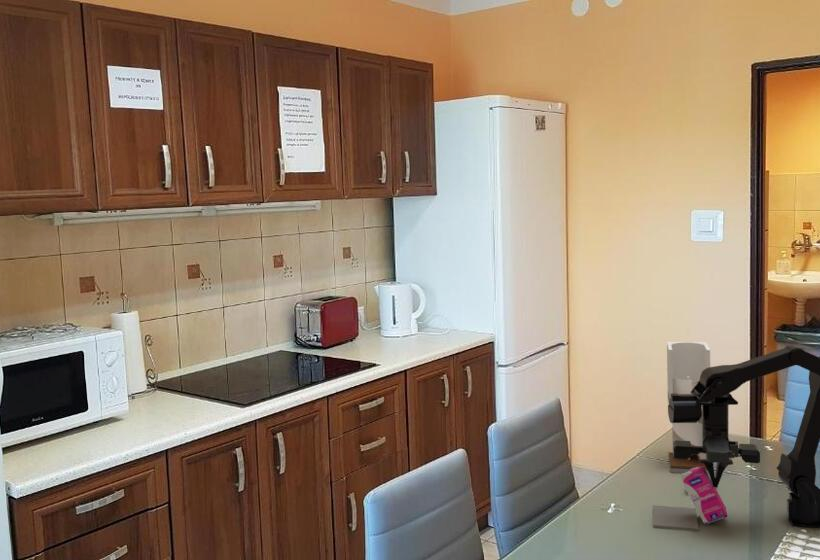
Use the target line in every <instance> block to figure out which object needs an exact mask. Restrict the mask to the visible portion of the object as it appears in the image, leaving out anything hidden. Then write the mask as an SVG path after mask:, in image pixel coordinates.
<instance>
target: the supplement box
mask: <svg viewBox="0 0 820 560" xmlns="http://www.w3.org/2000/svg"><path fill="white" fill-rule="evenodd" d="M709 475H710V474H709ZM709 475H708V473H707V471H706V469H705V467H704V466H702V467H699V468H696V469H694V470H691V471H688V472H686V473H681V481H682V484H683V486H684V488H685V490H686V492H687V493H688V496H689V497H690V500H691V502H692V504H693V505H694V508H696V512H697V513H698V515H699V517H700V519H701V521H702V522H703V524H704V526H705V525H710V524H711V523H714V522H717V521H719V520H722V519H726V518H728V511H727V507H726V505H725V503H724V501H723V499H722V497H721V495H720V494H719V492H718V490H717V487H713V483H712V480H711V478H710V477H709Z"/></svg>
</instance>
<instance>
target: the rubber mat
mask: <svg viewBox="0 0 820 560" xmlns="http://www.w3.org/2000/svg"><path fill="white" fill-rule="evenodd" d="M652 528H653V529H654V528H655V529H668V530H682V531H692V532H693V531H694V532H699V523H698V516H697V509H696V507H682V506H681V507H680V506H671V505H670V506H668V505H667V506H665V505H652Z"/></svg>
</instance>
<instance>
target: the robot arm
mask: <svg viewBox="0 0 820 560" xmlns="http://www.w3.org/2000/svg"><path fill="white" fill-rule="evenodd" d="M794 366H798V367H801V368H802V369H805V370H807V371H809V372H808V383H809V395H808V399H807V403H806V405H805V409H804V412H803V416H802V417H801V418H802V419H801V422H800V426H799V429H798V431H797V432H798V433H797V435H796V439H795V443H794V445H793V448H792V449H791V451H790V452H789V453H788V454H785V453H781V455H780V461H779V464H778V466H776V469H777V471H778V473H777V474H778V477H779V479H780V481H781V482H782V484H784V485H785V486H786V488H787V490H789V491H790V492H789V493H788V498H787V499H786V516H787V519H788V520H789V521H790V524H791V526H795V527H808V528H809V527H810V528H820V487H819V486H817V485H816V479H817V478H816V477H817V468H816V459H815V458H816V454H817V451H818V447H819V444H820V356H817V355H815V354H812V353H810V352H808V351H806V350H804V349H803V348H800V347H798V346H797V345H795V344H794V345H793V344H790V345H786V346H785V347H783V348H781V349H778V350H775V351H772V352H769V353H766V354H763V355H759V356H757V357H754V358H752V359H748V360H745V361H742V362H739V363H736V364H721V365H715V366H710V367H709V368H706V369H705V370H703V371H702V373H701V375H700V380H699V382H698V383H697V384H696V385H695V387H694V388H693V389H692V391H691V394H671V399H670V400H669V404H668V405H667V413H668V414H667V416H668V419H669V422H670V424H672V423H696V422H697V421H700V418H701V416H702V446H691V443H690V441H678V440H675V441H674V442H672V452H673V455H674V458H676V459H689V458H690V457H691V454H698V457H699V462H700V463H704V464H705V466H706V468H707V470H708V472H709V475H710V477H711V480H712V483H713V487H715V488H718V486H719V484H720V482H721V479H722V476H723V474H724V471H725V470H726V468H727V467H729V466H731V465H733V464H734V461H733V459H735V458H739V457H740V458H741V460H743V462H744V463H745V464H746V463H748V464H760V463H761V452H760V450H759V447H758V446H757V445H756V444H753V443H752V444H751V443H750V444H749V443H739V442H738V441H733V440H730V438H729V425H730V424H729V406H731V405H733V406H734V405H736V406H737V405H738V404H739V402H738V400H736V399H735V398H734V397H733V395H732V394H731V393H733V392H734V391H736V390H738V389H739V388H740V387H741V386H742V385H744V384H745V383H747V382H750V381H752V380H756V379H759V378H762V377H764V376H768V375H770V374H773V373H776V372H780V371H782V370H785V369H788V368H791V367H794ZM701 405H702V408H701ZM714 463H716V467H715V468H714Z"/></svg>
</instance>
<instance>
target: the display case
mask: <svg viewBox="0 0 820 560" xmlns="http://www.w3.org/2000/svg"><path fill="white" fill-rule="evenodd" d="M666 366H667V368H666V371H667V372H666V375H667V379H666V380H667V381H666V382H667V404H668V405H669V400H670V399H671V394H691V391H692V389H693V388H694V387H695V385H696V384H697V383H698V382H699V380H700V375H701V373H702V371H703V370H705V369H706V368H709V367H711V348H709V345H708V343H707V342H706V341H667V342H666ZM701 408H702V405H701ZM671 425H672V426H671V427H672V428H671V431H672V434H671V435H672V436H671V437H672V439H671V440H672V443H673V442H674V441H675V440H678V441H690V443H691V446H702V416H701V418H700V421H697V422H696V423H671ZM668 464H670V465H669V468H670V469H669V470H670V473H672V472H673V473H675V474H683V473H686V472H688V471H689V470H690V469H692V468H695V467H702V466H704V467H705V469H706V471H707V473H708V474H709V472H708V470H707V468H706V466H705V464H704V463H700V462H699V457H698V454H691V457H690V458H689V459H676V458H674V455H673V451H672V452H670V451H669V452H668ZM709 475H710V474H709Z"/></svg>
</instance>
